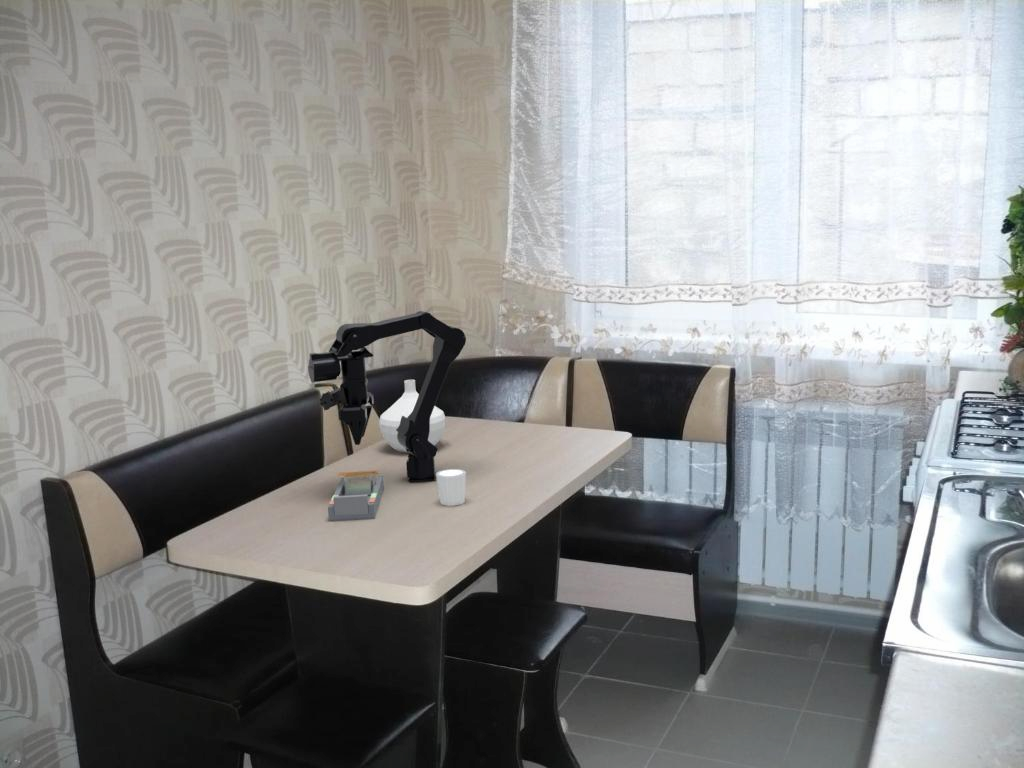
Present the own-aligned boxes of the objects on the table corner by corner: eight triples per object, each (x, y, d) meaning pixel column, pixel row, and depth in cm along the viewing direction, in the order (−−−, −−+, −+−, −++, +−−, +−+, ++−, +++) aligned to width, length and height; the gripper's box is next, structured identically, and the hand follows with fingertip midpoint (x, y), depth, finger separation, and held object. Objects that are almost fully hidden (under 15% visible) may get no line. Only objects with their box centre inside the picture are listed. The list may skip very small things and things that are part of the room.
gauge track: (384, 488, 256) (382, 467, 255) (374, 518, 233) (372, 495, 232) (342, 490, 256) (340, 470, 255) (329, 520, 233) (327, 498, 232)
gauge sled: (380, 488, 251) (378, 468, 250) (378, 494, 246) (376, 473, 245) (341, 490, 251) (339, 470, 250) (338, 496, 246) (336, 476, 245)
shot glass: (472, 498, 245) (470, 469, 243) (461, 507, 238) (459, 477, 237) (444, 496, 247) (442, 467, 246) (433, 505, 241) (431, 476, 239)
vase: (460, 443, 296) (456, 376, 292) (420, 459, 281) (415, 389, 277) (408, 437, 306) (403, 372, 302) (367, 453, 291) (362, 384, 287)
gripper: (326, 372, 261) (331, 433, 264) (313, 386, 243) (320, 452, 246) (371, 369, 261) (376, 430, 264) (362, 384, 243) (367, 449, 246)
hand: (359, 440), depth 255 cm, fingers open, 7 cm apart
